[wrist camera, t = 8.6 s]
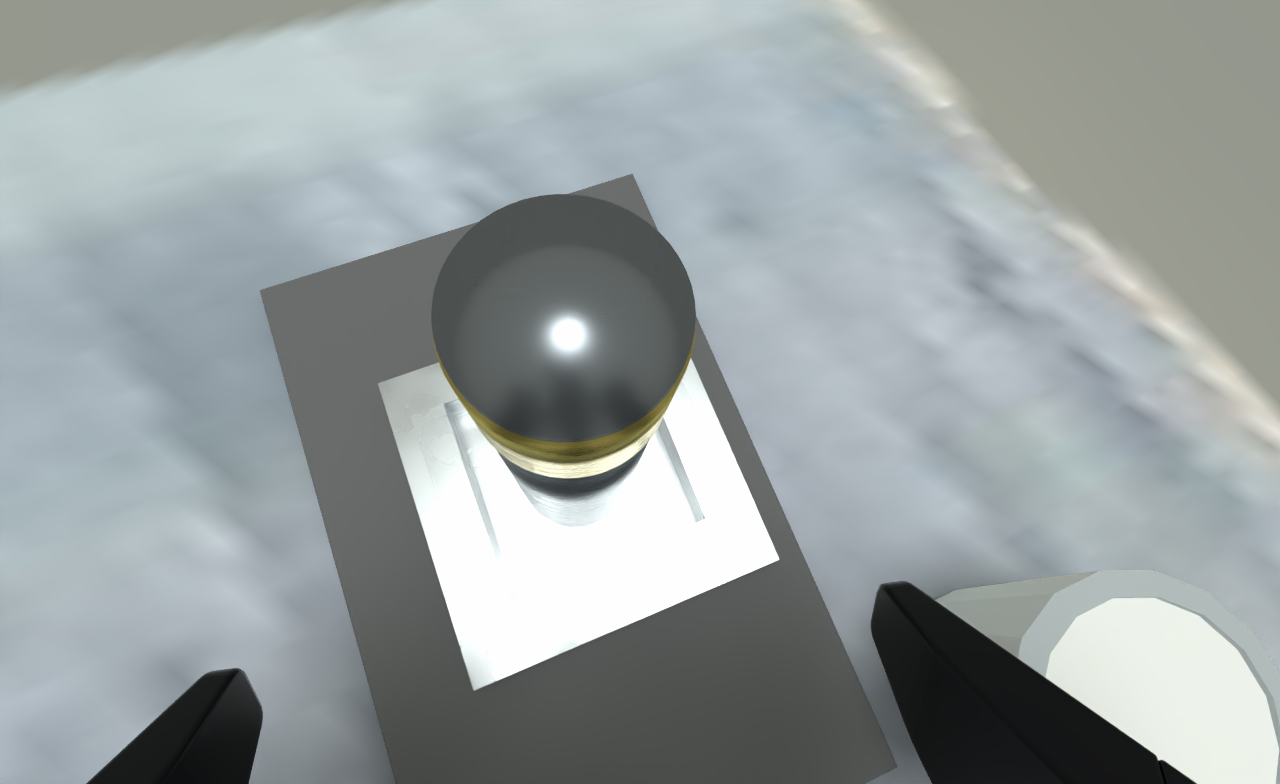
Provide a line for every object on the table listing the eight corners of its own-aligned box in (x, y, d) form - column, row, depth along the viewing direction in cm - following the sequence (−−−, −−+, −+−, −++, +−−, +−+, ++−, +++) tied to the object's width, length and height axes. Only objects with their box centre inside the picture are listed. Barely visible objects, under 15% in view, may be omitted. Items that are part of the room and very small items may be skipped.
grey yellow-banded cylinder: (651, 485, 21) (753, 341, 9) (561, 551, 20) (526, 498, 8) (589, 399, 22) (598, 149, 9) (498, 460, 21) (374, 274, 8)
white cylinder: (1128, 706, 21) (1375, 768, 15) (977, 847, 20) (1172, 988, 13) (989, 528, 23) (1156, 509, 16) (837, 649, 21) (950, 686, 14)
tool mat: (891, 763, 20) (897, 767, 20) (456, 980, 18) (453, 989, 18) (632, 179, 25) (632, 173, 25) (265, 295, 23) (259, 290, 23)
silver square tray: (772, 560, 21) (796, 558, 19) (478, 686, 20) (461, 702, 17) (657, 295, 24) (664, 262, 21) (385, 389, 22) (358, 366, 20)
